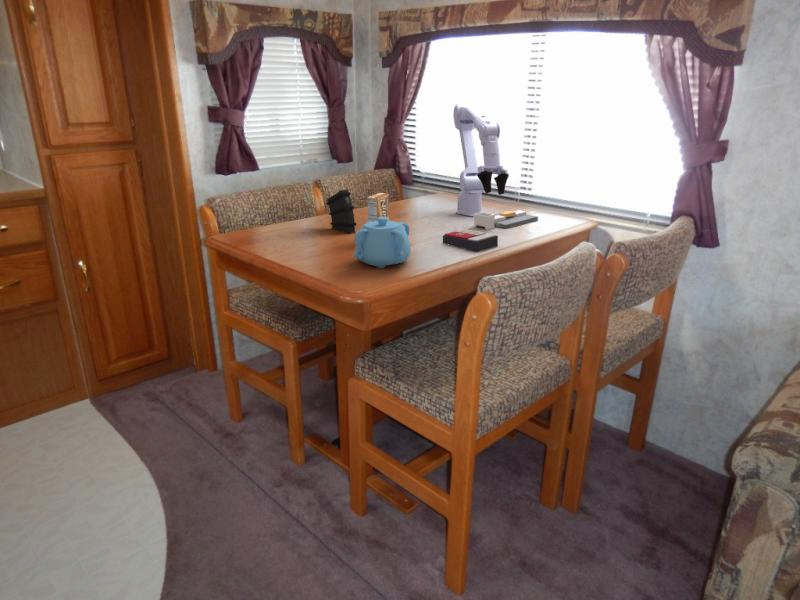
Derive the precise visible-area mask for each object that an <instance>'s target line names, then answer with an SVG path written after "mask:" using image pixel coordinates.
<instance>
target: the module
mask: <svg viewBox="0 0 800 600" xmlns="http://www.w3.org/2000/svg"><path fill="white" fill-rule="evenodd" d="M483 212H484V211H481V212H480V213H475V214H474V217H473V227H474V228H477V227H478V226H479V227H483V228H484V230H485V231H487V230H492V229H494V228H495V226H494V220H495V215H494V214H492V213H486V212H484V213H483Z"/></svg>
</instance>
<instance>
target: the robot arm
mask: <svg viewBox="0 0 800 600" xmlns="http://www.w3.org/2000/svg"><path fill="white" fill-rule="evenodd" d="M481 111H482V110H481V106H480V104H479V103H475V104H455V106H454V107H453V114H452V115H453V123H454V126H455V127H454V128H455V129H457V130H458V131H459V137H460V143H461V148H462V156H463V163H464V168H465V169H463V171H461V173H460V174H459V188H460V190H461V191H460V192H459V193H458V195H457V211H456V212H455V214H458V215H464V216H468V217H473V218H474V214H475V213H480V212H483V213H485V212H484V211H482V202H483V201H482V196H483V193H485V194H489V193H492V176H493V175H497V176H495V177H493V180H494V181H495V184H496V188H497V193H498V195H499V196H501V195H504V194H505V190H506V184H507V181H508V179H509V176H510V175H509V173H508V170H507V169H506V168H503V165H501V159H500V150H499V149H500V148H499V147H500V146H499V138H500V134H501V133H500V132H501V128H500V124H499V123H498V122H494V123H493V122H492V121H491V120H490V119H489V118H488V116H487V115H486V114H483V113H481ZM474 129H476V131H478V138H479V141H480V145H481V146H482V153H483V154H482V155H483V156H482V157H483V165H484V166H483V165H481V166H478V161H477V155H476V149H475V143H474V137H473V132H472V131H474Z"/></svg>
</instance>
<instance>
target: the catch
mask: <svg viewBox="0 0 800 600" xmlns="http://www.w3.org/2000/svg"><path fill="white" fill-rule="evenodd" d="M514 211H515V210H514ZM514 211H512V210H507V211H503V212H500V216H505V217H509V216H514V215H516V212H514Z"/></svg>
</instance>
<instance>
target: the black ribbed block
mask: <svg viewBox="0 0 800 600" xmlns="http://www.w3.org/2000/svg"><path fill="white" fill-rule="evenodd" d="M351 195H352V193H351V191H349V189H347V188H346V189H341V190H339V191H338V192H336V193H334V194H333V195H331V196H330V197H329V198H327V199H326V200H327V202H326V205H327V206H328V207H329V211H330V213H329V214H328V215H329V216H330V218H331V222H330V223H329V224H330V225H331V228H332V229H333V230H336V231H338V232H342V233H346V234H348V235H350V234H353V233H354V234H355V233H356V226H357V222H355V215H354V210H355V206H354V205H353V203H352V199H351Z"/></svg>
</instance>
